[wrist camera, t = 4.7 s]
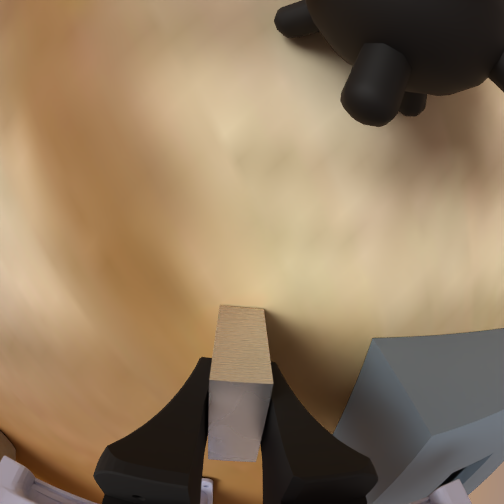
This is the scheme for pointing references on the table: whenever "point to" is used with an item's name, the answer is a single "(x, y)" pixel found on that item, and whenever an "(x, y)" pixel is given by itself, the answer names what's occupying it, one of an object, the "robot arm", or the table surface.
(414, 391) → the grey square hole block
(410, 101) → the toy ball
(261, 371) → the wooden block
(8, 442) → the plant pot
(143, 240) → the table surface
